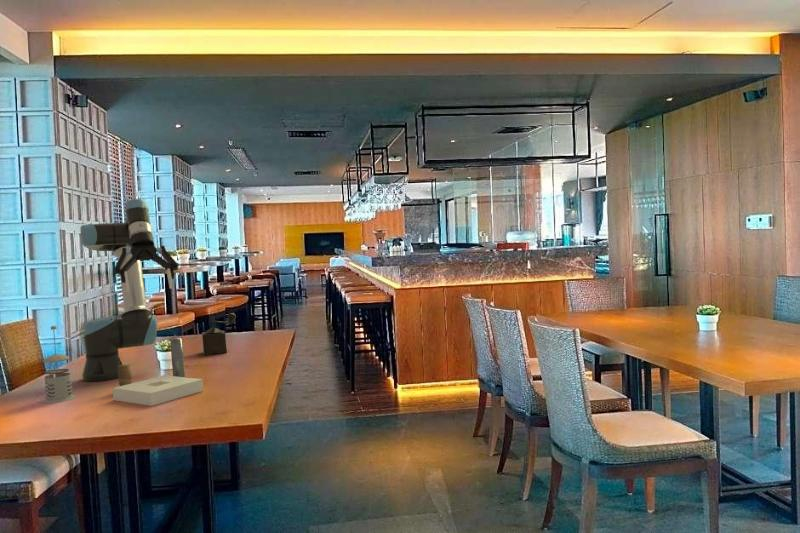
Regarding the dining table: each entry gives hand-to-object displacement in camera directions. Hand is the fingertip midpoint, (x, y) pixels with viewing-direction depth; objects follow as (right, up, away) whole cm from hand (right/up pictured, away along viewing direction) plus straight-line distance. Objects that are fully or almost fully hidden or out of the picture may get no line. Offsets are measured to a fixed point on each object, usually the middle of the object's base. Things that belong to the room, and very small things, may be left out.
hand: (149, 288), depth 214 cm
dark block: (0, -33, +82) cm, 89 cm away
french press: (-32, -38, +4) cm, 50 cm away
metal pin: (+3, -35, +19) cm, 40 cm away
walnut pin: (-12, -36, +10) cm, 39 cm away
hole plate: (+3, -36, 0) cm, 36 cm away
